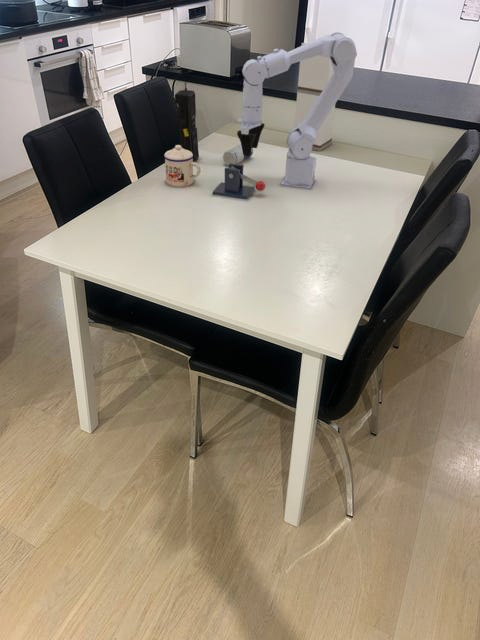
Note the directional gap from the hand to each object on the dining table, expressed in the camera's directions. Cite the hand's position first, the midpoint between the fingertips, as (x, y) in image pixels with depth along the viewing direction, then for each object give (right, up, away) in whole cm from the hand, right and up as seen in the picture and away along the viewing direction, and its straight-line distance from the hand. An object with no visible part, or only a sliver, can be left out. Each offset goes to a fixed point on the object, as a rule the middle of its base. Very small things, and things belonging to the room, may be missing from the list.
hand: (250, 151), depth 158 cm
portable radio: (-21, +3, +21) cm, 30 cm away
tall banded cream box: (+25, +15, +39) cm, 49 cm away
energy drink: (-7, +3, +16) cm, 18 cm away
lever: (-1, -11, -3) cm, 11 cm away
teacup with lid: (-21, -9, +5) cm, 24 cm away
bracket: (-5, -13, 0) cm, 14 cm away
